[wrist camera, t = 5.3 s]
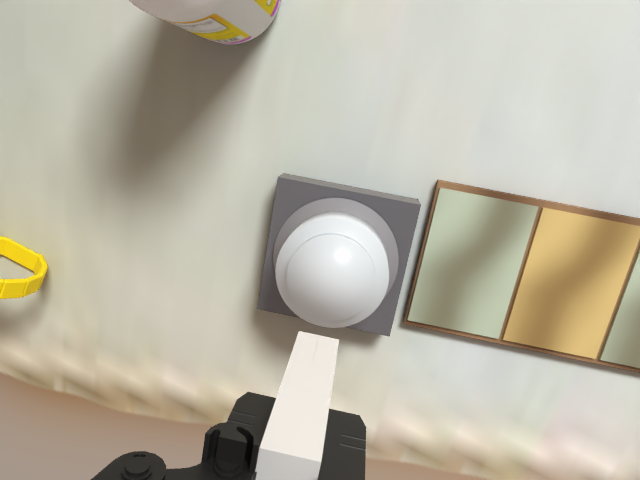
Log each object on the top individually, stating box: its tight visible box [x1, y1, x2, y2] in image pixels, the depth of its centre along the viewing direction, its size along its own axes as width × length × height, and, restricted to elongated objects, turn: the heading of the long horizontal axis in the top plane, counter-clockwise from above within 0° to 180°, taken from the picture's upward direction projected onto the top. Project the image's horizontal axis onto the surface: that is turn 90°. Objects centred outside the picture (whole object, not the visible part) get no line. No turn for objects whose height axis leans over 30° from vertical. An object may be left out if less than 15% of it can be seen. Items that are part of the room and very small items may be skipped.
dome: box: [275, 211, 389, 328], centre depth 30 cm, size 7×7×3 cm
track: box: [403, 180, 640, 373], centre depth 32 cm, size 20×10×1 cm, turn 80°
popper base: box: [257, 173, 421, 336], centre depth 33 cm, size 9×9×2 cm
